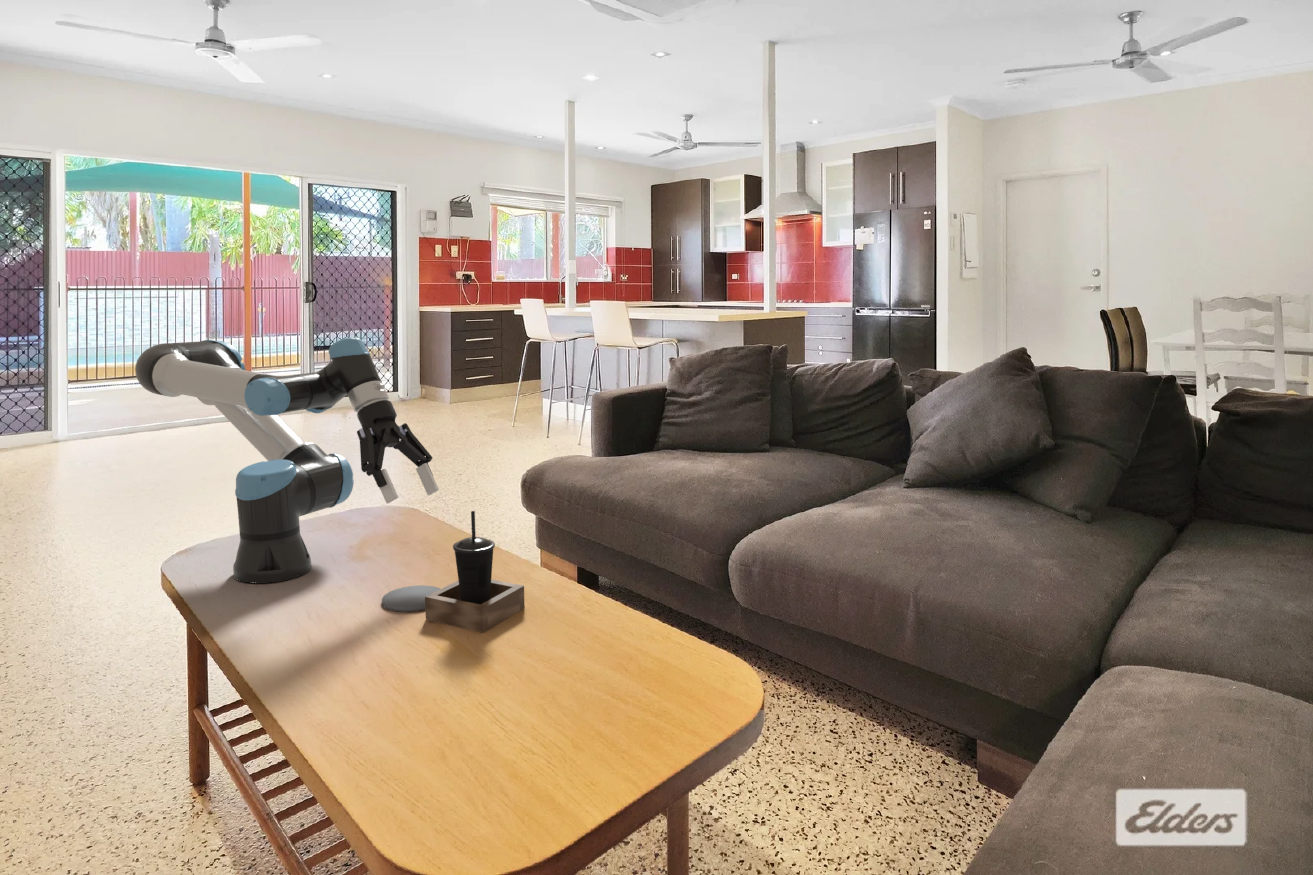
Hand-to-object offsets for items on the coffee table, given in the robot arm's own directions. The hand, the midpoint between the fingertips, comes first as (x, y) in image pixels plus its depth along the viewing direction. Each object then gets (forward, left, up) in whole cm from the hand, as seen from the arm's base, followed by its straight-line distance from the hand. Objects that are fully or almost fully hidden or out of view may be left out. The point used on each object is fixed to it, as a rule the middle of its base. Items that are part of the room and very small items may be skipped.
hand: (413, 496), depth 173 cm
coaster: (+9, -11, -17) cm, 22 cm away
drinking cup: (+24, -11, -18) cm, 32 cm away
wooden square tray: (+24, -11, -17) cm, 32 cm away
